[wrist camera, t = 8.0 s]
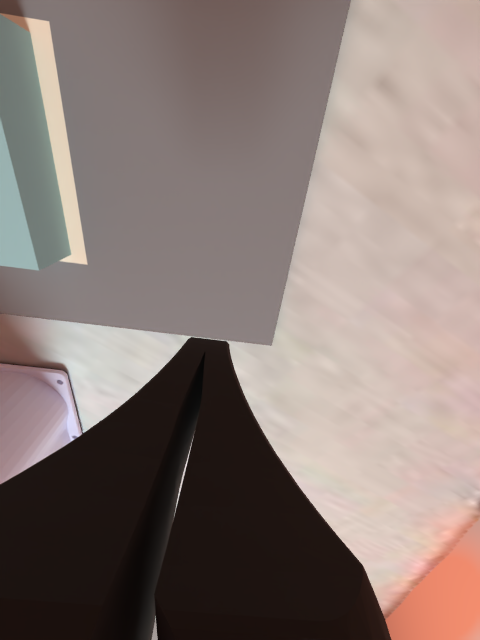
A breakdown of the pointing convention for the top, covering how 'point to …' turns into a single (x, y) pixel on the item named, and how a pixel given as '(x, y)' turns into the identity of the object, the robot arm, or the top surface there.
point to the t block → (26, 161)
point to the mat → (177, 157)
